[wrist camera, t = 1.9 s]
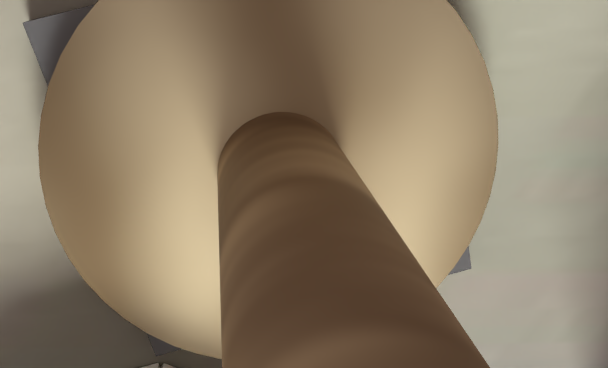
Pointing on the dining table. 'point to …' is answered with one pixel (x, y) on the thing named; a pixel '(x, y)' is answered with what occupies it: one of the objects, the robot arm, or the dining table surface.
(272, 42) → the wooden peg stand
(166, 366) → the bowl
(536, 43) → the dining table surface
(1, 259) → the dining table surface
